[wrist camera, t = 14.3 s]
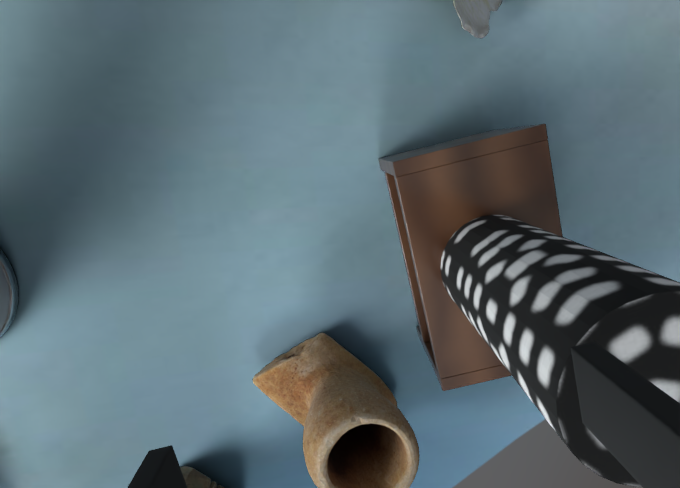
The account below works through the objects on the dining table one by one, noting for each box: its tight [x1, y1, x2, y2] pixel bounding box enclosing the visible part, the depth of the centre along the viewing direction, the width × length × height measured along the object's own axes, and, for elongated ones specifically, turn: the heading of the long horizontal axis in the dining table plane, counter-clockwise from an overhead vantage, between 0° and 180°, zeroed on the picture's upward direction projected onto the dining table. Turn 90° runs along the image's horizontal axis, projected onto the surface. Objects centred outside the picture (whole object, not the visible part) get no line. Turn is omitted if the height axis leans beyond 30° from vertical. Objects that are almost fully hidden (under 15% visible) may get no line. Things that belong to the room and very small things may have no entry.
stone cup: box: [253, 333, 419, 488], centre depth 45 cm, size 15×12×15 cm
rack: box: [378, 124, 562, 391], centre depth 43 cm, size 12×20×12 cm, turn 14°
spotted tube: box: [440, 215, 680, 487], centre depth 28 cm, size 8×8×20 cm
